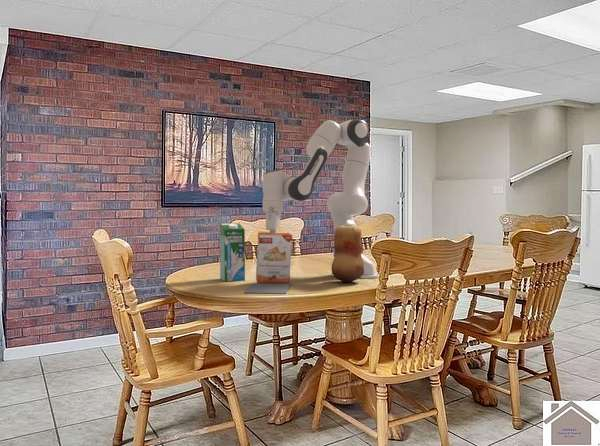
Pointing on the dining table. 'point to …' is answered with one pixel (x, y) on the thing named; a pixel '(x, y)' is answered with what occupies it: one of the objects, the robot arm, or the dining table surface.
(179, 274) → the dining table surface
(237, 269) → the milk carton
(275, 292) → the mat
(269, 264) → the cracker box
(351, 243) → the butternut squash
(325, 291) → the dining table surface
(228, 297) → the dining table surface
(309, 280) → the dining table surface
